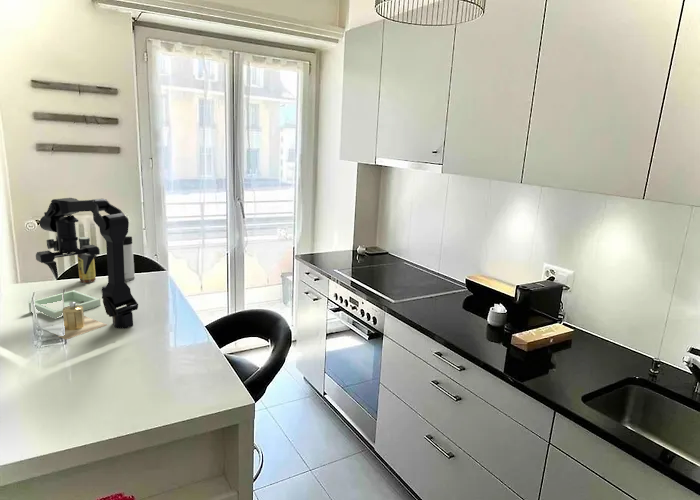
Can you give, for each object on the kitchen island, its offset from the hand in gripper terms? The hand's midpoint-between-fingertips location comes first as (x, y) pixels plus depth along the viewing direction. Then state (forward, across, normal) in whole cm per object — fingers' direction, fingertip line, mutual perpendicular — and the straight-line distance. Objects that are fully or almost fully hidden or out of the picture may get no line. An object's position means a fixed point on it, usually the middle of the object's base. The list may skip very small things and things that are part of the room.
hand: (71, 276), depth 162 cm
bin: (+14, +2, -4) cm, 15 cm away
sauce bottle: (+14, -17, -33) cm, 40 cm away
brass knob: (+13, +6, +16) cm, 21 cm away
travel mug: (+14, -31, -26) cm, 43 cm away
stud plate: (+14, +6, +16) cm, 22 cm away
